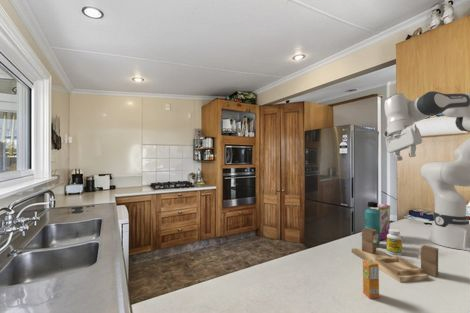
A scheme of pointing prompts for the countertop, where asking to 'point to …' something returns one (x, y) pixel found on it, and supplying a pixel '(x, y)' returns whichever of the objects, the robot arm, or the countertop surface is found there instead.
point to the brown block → (429, 260)
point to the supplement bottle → (394, 242)
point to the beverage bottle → (373, 219)
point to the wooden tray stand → (387, 259)
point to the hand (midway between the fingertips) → (405, 158)
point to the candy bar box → (384, 219)
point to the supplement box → (371, 279)
